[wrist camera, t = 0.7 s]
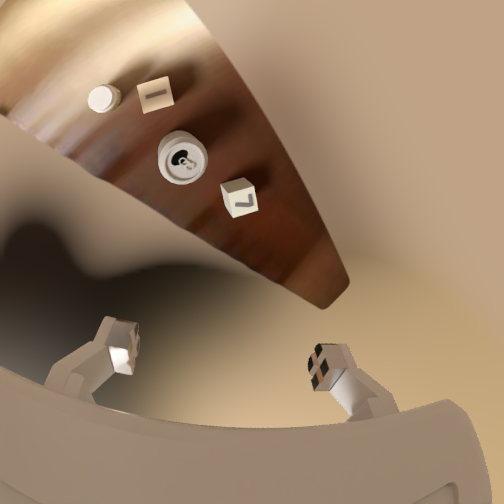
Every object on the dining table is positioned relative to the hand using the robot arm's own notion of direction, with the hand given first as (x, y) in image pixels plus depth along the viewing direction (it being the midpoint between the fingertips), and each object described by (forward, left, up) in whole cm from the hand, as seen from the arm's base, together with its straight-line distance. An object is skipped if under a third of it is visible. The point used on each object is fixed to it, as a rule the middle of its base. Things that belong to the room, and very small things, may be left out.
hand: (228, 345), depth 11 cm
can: (-1, +1, -43) cm, 44 cm away
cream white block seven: (+3, +15, -43) cm, 46 cm away
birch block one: (-9, -7, -43) cm, 45 cm away
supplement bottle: (-6, -15, -43) cm, 46 cm away
